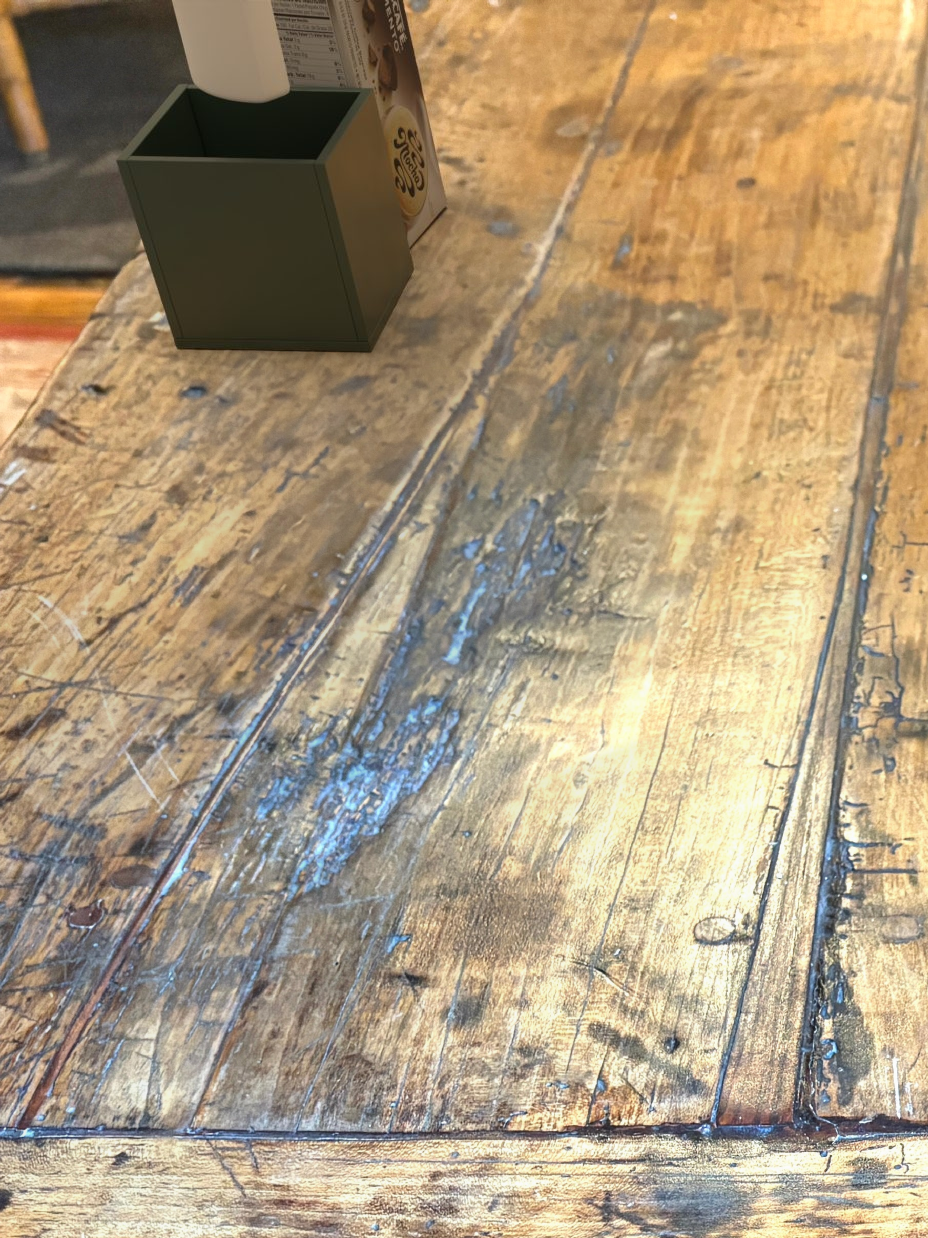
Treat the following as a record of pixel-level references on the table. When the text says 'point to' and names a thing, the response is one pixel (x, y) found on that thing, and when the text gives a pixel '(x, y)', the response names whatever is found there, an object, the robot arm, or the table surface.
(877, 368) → the table surface
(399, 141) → the coffee box
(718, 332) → the table surface
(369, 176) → the trash can
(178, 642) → the table surface
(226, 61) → the eye dropper bottle
